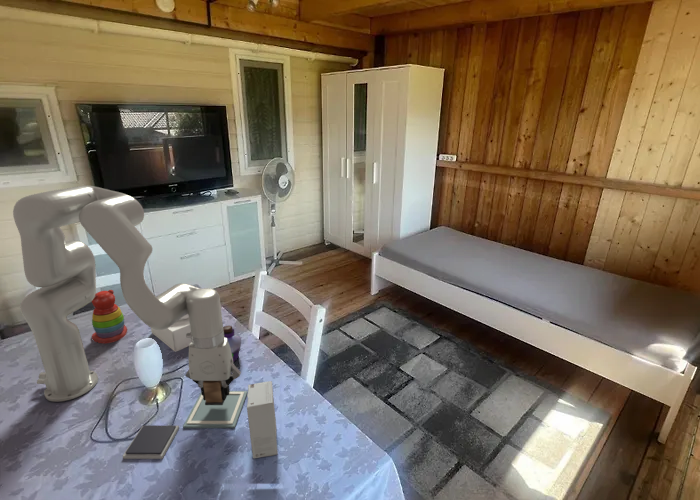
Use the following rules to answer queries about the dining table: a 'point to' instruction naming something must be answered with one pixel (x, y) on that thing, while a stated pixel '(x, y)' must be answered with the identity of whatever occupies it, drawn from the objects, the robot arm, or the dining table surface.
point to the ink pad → (151, 442)
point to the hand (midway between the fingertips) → (216, 396)
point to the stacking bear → (107, 318)
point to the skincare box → (262, 419)
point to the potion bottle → (232, 341)
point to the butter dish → (175, 334)
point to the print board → (216, 412)
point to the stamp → (213, 392)
